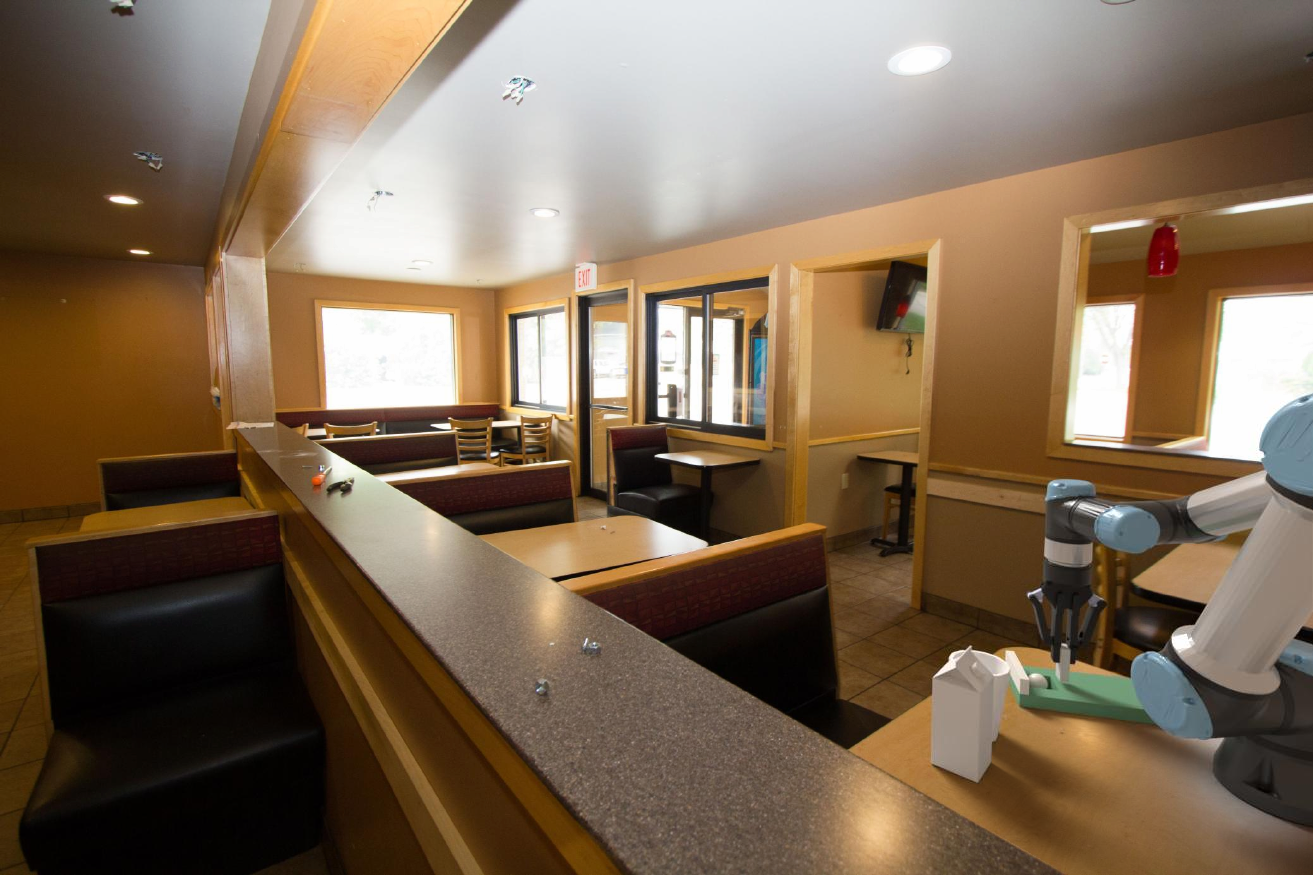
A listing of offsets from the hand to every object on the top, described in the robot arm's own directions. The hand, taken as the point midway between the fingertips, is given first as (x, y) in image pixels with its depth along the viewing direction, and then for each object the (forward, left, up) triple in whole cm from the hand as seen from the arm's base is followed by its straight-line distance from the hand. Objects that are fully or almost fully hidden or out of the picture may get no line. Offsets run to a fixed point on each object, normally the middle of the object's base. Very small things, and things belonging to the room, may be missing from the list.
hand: (1062, 678), depth 115 cm
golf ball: (+1, +2, -3) cm, 4 cm away
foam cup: (-17, +17, -4) cm, 25 cm away
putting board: (0, -3, -4) cm, 4 cm away
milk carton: (-27, +21, -4) cm, 35 cm away
